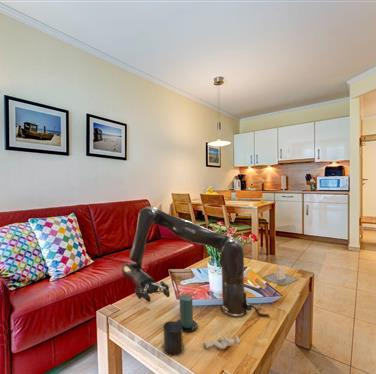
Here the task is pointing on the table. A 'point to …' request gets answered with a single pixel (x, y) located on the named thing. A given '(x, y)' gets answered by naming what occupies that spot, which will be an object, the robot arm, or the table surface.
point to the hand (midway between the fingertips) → (159, 297)
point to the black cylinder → (173, 338)
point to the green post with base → (186, 314)
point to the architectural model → (280, 277)
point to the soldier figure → (224, 342)
